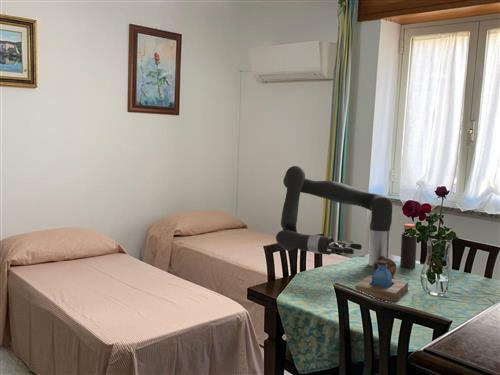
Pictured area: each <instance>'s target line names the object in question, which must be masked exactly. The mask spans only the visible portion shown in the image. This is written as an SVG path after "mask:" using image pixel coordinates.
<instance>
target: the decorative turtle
mask: <svg viewBox="0 0 500 375" xmlns="http://www.w3.org/2000/svg"><path fill="white" fill-rule="evenodd" d="M381 260H383V261H387V263H386V264H387V268H386V269H389V271H390V272H391V274H392V277H394V276H395V274H396V270H397V267H398V266H397V264H396V262H395V261H394V260H392V259H391V258H389V259H388V258H385V257H384V256H379V257H378V258H377V261H376V262H375V263H374V267H373V269H374V270H375V271H376V270H377V269H378V268H379V267H378V264H379V261H381Z"/></svg>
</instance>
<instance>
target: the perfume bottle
mask: <svg viewBox="0 0 500 375" xmlns="http://www.w3.org/2000/svg"><path fill="white" fill-rule="evenodd" d="M386 263H387V261H383V260H381V261H379V264H378V267H379V268H378V269H377V270H375V271H374V273H372V275H371V276H372V285H374V286H379V287H384V288H390V287H391V286H392V279H393V276H392V274H391V272H390V271H389V269H386V268H387V264H386Z"/></svg>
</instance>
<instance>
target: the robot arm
mask: <svg viewBox="0 0 500 375" xmlns="http://www.w3.org/2000/svg"><path fill="white" fill-rule="evenodd" d="M283 185H284V187H285V188H286V194H285V199H284V202H283V207H282V213H281V219H280V225H281V228H282V230H280V231H279V232H277V233H276V237H275V241H276V242H277V244H278V245H279V246H280V247H281V248H283V249H284V250H285V251H287V252H288V251H290V252H291V251H292V250H294V249H295V248H296V249H298V250H299V251H303V252H311V253H313V254H314V253H315V254H320V255H328V256H329V255H331V254H333V255H339V256H340V255H341V254H342V255H343V254H344V255H345V254H347V255H354V253H355V251H354V250H357V251H358V250H362V244H361V243H355V242H354V241H352V240H344V239H343V240H341V239H339V240H336V241H334V240H335V239H334V238H333V237H332V236H327V235H316V234H315V235H313V234H306V233H305V234H304V233H303V234H302V233H299V232H297V223H298V214H299V205H300V203H299V202H300V196H301V193H302V194H303V193H304V194H309V195H311V196H316V197H319V198H320V199H321V198H322V199H325V200H329V201H332V202H335V203H338V204H342V205H350V206H358V207H361V208H364V209H367V210H369V211H371V217H370V218H371V221H370V223H369V240H368V242H369V243H368V244H369V245H368V265H369V266H370V267H372V268H374V263H375V262H376V261H377V258H378V257H379V256H384V257H385V258H388V259H390V241H391V240H390V239H391V238H390V237H391V225H392V221H393V203H392V201H391V199H390V198H388V197H387V196H386V195H383V194H378V193H373V192H367V191H364V190H361V189H358V188H356V187H353V186H351V185H349V184H345V183H342V182H338V181H336V180H335V181H334V180H313V179H309V178H306V173H305V171H304V169H303V168H302V167H300V166H299V165H292V166H291V167H289V168H288V169H287V170H286V172H285V174H284V177H283Z"/></svg>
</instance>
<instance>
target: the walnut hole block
mask: <svg viewBox="0 0 500 375" xmlns="http://www.w3.org/2000/svg"><path fill="white" fill-rule="evenodd" d="M372 276H373V275H368V276H367V277H365V278H364V279H362V280H361V281H359V282H357V283H356V284H355V286H354V290H355V289H356V290H358V291H361V292H364V293H366V294H368V295H371V296H373V297H376V298H375V299H377V298H379V300H382V301H383V300H384V301H387V302H393V303H396V302H398V301H399V300H400V298H402V297H403V296H404V295H405V294H406V293H407V292H408V291H409V281H404V280H397V279H393V278H392V286H391V287H390V288H384V287H379V286H374V285H372Z"/></svg>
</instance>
